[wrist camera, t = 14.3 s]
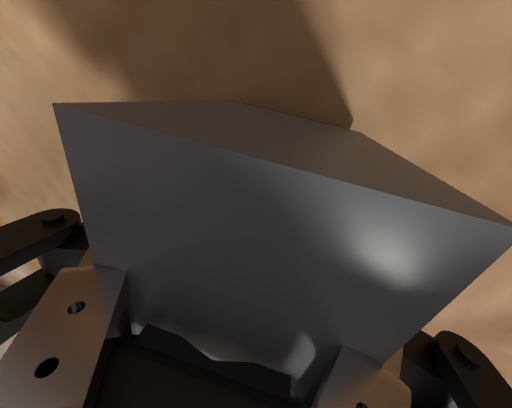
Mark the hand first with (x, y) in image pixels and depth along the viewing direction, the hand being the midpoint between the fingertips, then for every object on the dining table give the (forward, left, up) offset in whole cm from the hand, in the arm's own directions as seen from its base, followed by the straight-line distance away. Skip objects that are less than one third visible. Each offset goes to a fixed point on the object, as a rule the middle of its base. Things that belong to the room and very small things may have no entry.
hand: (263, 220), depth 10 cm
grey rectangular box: (0, 0, -2) cm, 2 cm away
